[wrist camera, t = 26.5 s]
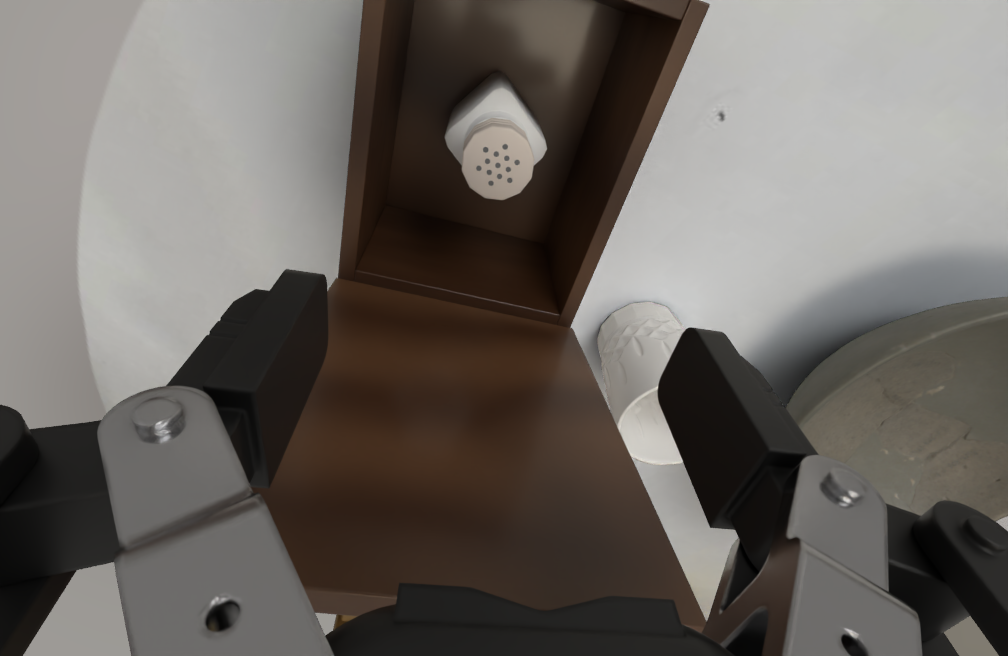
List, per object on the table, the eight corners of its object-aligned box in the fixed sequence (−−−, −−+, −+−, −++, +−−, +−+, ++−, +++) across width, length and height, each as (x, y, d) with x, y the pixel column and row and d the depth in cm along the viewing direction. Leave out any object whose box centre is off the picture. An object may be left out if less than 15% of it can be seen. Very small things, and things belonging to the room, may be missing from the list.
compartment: (411, -83, 24) (373, -119, 16) (641, -1, 26) (710, 4, 18) (374, 208, 32) (337, 280, 24) (550, 251, 35) (569, 329, 27)
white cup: (613, 385, 42) (643, 479, 34) (573, 323, 38) (596, 413, 30) (699, 346, 40) (753, 437, 32) (665, 277, 36) (718, 360, 28)
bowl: (761, 512, 54) (800, 586, 48) (689, 342, 40) (730, 414, 33) (1041, 424, 47) (1133, 497, 41) (1076, 179, 33) (1229, 229, 26)
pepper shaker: (541, 123, 29) (561, 172, 21) (489, 165, 30) (491, 226, 22) (499, 64, 27) (505, 94, 19) (447, 111, 28) (432, 158, 21)
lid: (133, 571, 9) (146, 726, 12) (711, 629, 12) (626, 749, 14) (336, 277, 24) (324, 371, 26) (573, 328, 26) (542, 410, 28)
